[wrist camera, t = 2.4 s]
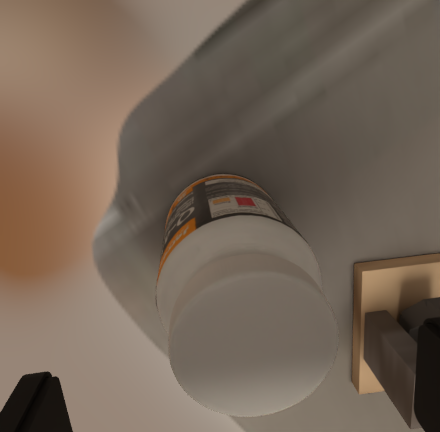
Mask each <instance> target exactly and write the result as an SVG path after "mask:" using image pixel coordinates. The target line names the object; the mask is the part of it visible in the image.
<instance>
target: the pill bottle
mask: <svg viewBox="0 0 440 432" xmlns="http://www.w3.org/2000/svg"><path fill="white" fill-rule="evenodd" d="M156 305H157V308H158V312H159V316H160V319H161V321H162V324H163V326H164V328H165V330H166V332H167V333H168V335H169V357H170V364H171V367H172V370H173V373H174V375H175V377H176V379H177V381H178V382H179V384H180V386H181V387H182V388H183V389H184V391H185V392H186V393H187V394H188V395H189V396H190V397H191V398H193V399H194V400H195V401H197V402H198V403H199V404H201V405H203V406H205V407H206V408H209V409H211V410H213V411H216V412H219V413H222V414H226V415H232V416H237V417H254V416H262V415H267V414H272V413H275V412H279V411H281V410H284V409H286V408H289V407H291V406H293V405H295V404H296V403H298V402H300V401H302V400H303V399H305V398H306V397H307V396H308V395H310V394H311V393H312V392H313V391H314V390H315V389H316V388H317V387H318V386H319V385H320V384H321V383H322V381H323V380H324V379H325V378H326V376H327V374H328V373H329V371H330V369H331V367H332V365H333V363H334V361H335V358H336V354H337V350H338V340H339V333H338V325H337V321H336V318H335V315H334V312H333V310H332V308H331V306H330V304H329V302H328V301H327V299H326V297H325V296H324V294H323V292H322V279H321V273H320V269H319V265H318V262H317V260H316V257H315V255H314V253H313V251H312V250H311V248H310V246H309V245H308V243H307V242H306V241H305V239H304V238H303V237H302V236H301V234H300V233H299V232H298V231H297V230H296V228H295V227H294V226H293V225H292V223H291V222H290V221H289V219H288V218H287V217H286V216H285V214H284V213H283V212H282V211H281V209H280V208H279V207H278V206H277V205H276V203H275V202H274V201H273V200H272V198H271V197H270V196H269V195H268V194H267V193H266V192H265V191H264V190H263V189H262V188H261V187H259V186H258V185H257V184H255V183H254V182H252V181H250V180H248V179H246V178H243V177H240V176H237V175H231V174H218V175H212V176H208V177H205V178H202V179H199V180H197V181H195V182H194V183H192V184H191V185H189V186H188V187H187V188H185V189H184V190H183V191H182V192H181V193H180V194H179V196H178V197H177V198H176V199H175V201H174V203H173V204H172V206H171V208H170V211H169V213H168V216H167V221H166V225H165V233H164V239H163V246H162V252H161V259H160V266H159V273H158V278H157V285H156Z"/></svg>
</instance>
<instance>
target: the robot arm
mask: <svg viewBox="0 0 440 432" xmlns="http://www.w3.org/2000/svg"><path fill="white" fill-rule="evenodd" d="M414 413H415V416H416V419H417V421H418V422H419V424H420V425H421V427H422V428H423V429H424V431H425V432H440V317H433V318H427V319H425V321H424V322H423V325H420V326H419V329H418V341H417V358H416V375H415V391H414ZM0 432H73V431H72V427H71V423H70V419H69V415H68V412H67V408H66V404H65V400H64V396H63V393H62V388H61V385H60V381H59V378H58V377H52V375H51V373H50V372H40V373H33V374H26V375H24V376H22V378H21V379H20V381H19V382H18V384H17V386H16V387H15V389H14V391H13V392H12V394H11V396H10V398H9V399H8V401H7V402H6V404H5V406H4V408H3V409H2V411H1V412H0Z"/></svg>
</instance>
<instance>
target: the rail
mask: <svg viewBox="0 0 440 432" xmlns="http://www.w3.org/2000/svg"><path fill="white" fill-rule="evenodd" d="M437 297H440V253H437V254H429V255H420V256H412V257H404V258H396V259H388V260H379V261H371V262H363V263H355V264H354V306H353V357H352V383H353V385H354V386H355V388H356V390H357V392H358V393H359V394H365V393H372V392H379V391H385V392H386V393H387V395H388V396H389V398H390V399H391V401H392V402H393V404H394V405H395V407H396V408H397V410H398V411H399V413H400V414H401V416H402V417H403V419H404V420H405V422H406V423H407V425H408V426H409V428H410V429H416V428H422V427H421V425H420V424H419V422H418V421H417V419H416V416H415V413H414V391H415V375H416V358H417V343H416V342H415V341H414V340H413V338H412V337H411V336H410V335H409V334H408V333H407V332H406V331H405V330H404V329H403V328H402V327H401V325H400V324H399V318H400V315H402V313H401V311H403V310H405V309H407V308H409V307H411V306H412V305H414V304H416V303H418V302H420V301H421V300H423V299H429V298H437Z"/></svg>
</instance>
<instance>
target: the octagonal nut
mask: <svg viewBox="0 0 440 432" xmlns="http://www.w3.org/2000/svg"><path fill="white" fill-rule="evenodd" d="M401 313H402V315H400V318H399V324H400V325H401V327H402V328H403V329H404V330H405V331H406V332H407V333H408V334H409V335H410V336H411V337H412V338H413V340H414V341H415V342H416V343H417V341H418V329H419V326H420V325H423V322H424V321H425V319H427V318H433V317H440V297H437V298H429V299H423V300H421V301H420V302H418V303H416V304H414V305H412V306H411V307H409V308H407V309H405V310H403V311H401Z"/></svg>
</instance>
